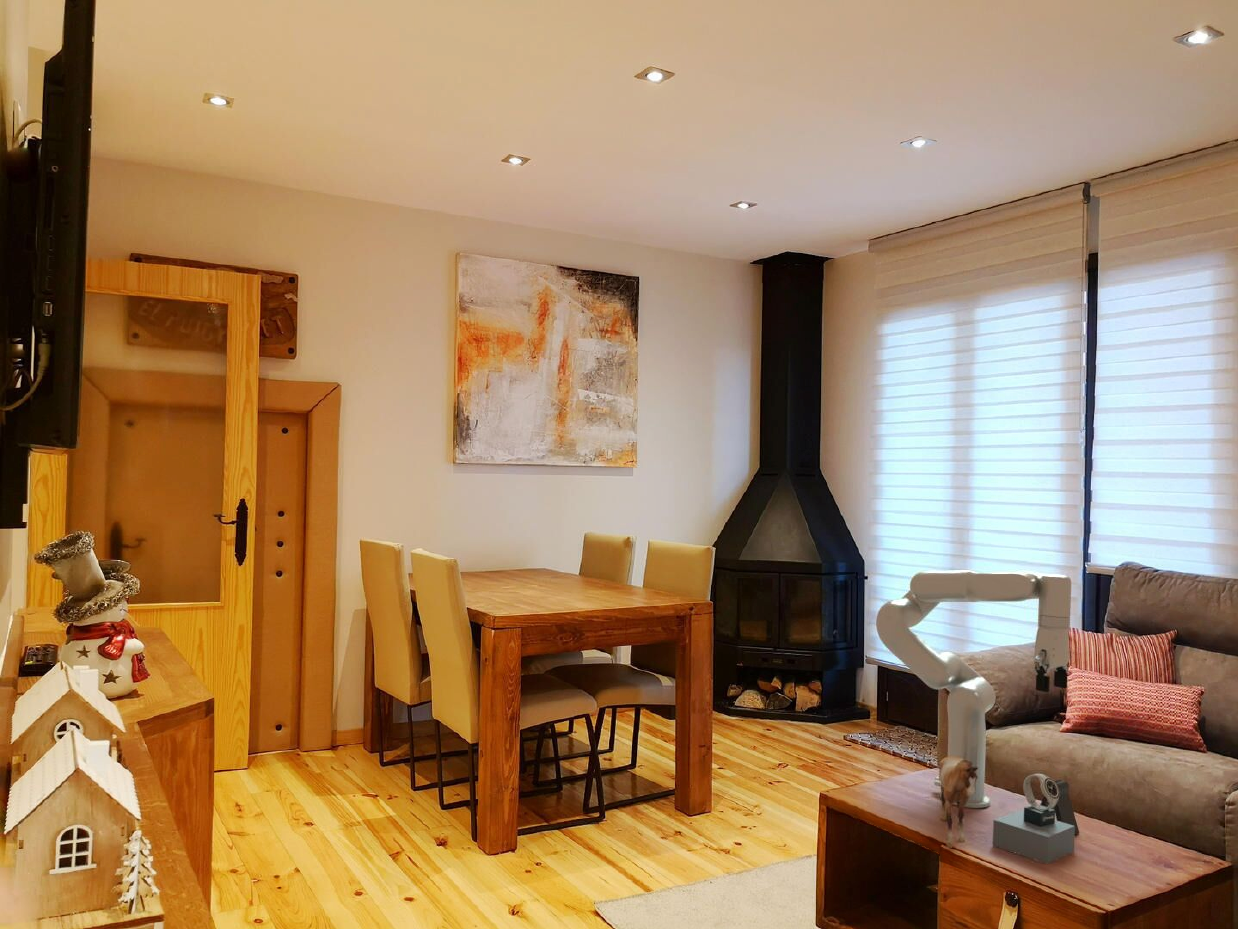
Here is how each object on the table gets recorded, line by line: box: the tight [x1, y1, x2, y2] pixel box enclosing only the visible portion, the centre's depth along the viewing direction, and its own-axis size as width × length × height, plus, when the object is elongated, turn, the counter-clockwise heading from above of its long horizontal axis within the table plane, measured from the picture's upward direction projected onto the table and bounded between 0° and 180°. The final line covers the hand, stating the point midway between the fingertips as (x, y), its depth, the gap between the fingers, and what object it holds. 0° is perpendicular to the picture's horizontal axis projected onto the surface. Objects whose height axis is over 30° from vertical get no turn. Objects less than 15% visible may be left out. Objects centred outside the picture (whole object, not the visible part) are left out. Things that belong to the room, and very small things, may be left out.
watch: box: [1022, 773, 1060, 827], centre depth 222 cm, size 6×8×11 cm
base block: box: [992, 809, 1075, 865], centre depth 221 cm, size 13×13×6 cm
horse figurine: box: [938, 756, 978, 849], centre depth 229 cm, size 31×8×21 cm, turn 162°
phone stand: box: [1039, 779, 1080, 836], centre depth 234 cm, size 9×6×12 cm, turn 36°
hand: (1051, 689), depth 243 cm, fingers open, 9 cm apart
